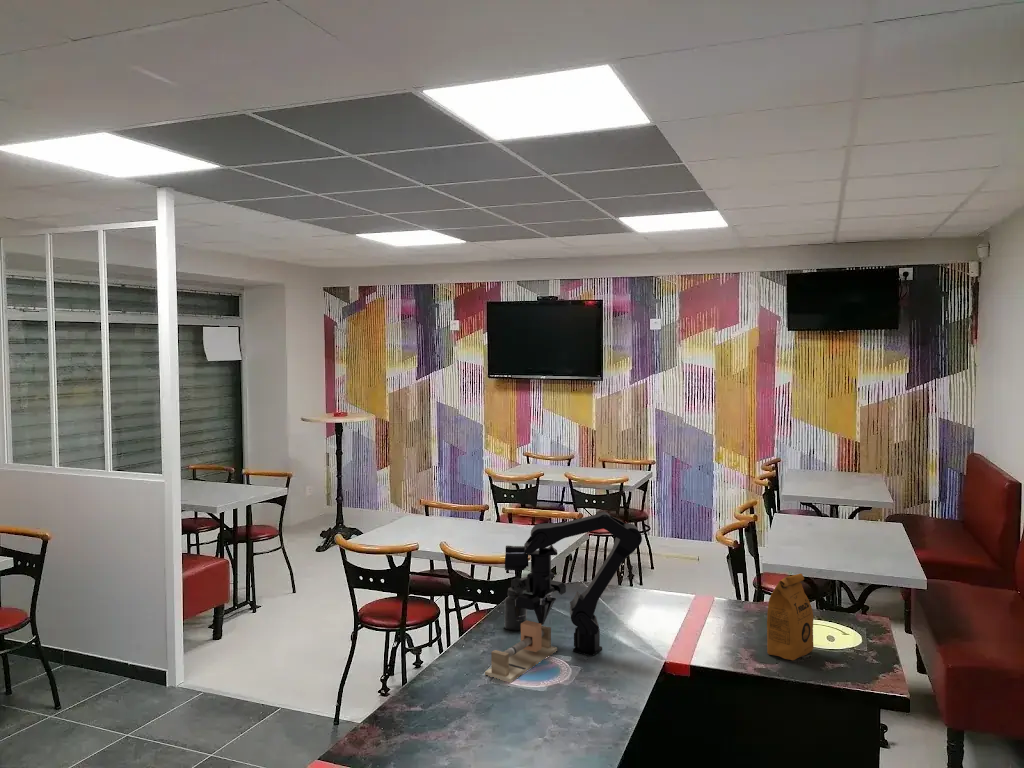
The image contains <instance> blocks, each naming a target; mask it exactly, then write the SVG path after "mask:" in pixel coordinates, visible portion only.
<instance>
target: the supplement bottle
mask: <svg viewBox="0 0 1024 768" xmlns="http://www.w3.org/2000/svg"><path fill="white" fill-rule="evenodd" d="M524 593H525V592H524V591H520V592H518V593H516V592H515V591H513V590H512V588H511V587H508V589H507V597H505V599H504V628H505V629H506V630H508V631H510V632H511V631H512V632H513V631H514V632H519V631H520V632H521V623H522V622H524V621H526V620H528V619H527V616H528V614H527V611H528V609H524V608H520V607H516V606H515V599H516V598H517V597H518V596H520V595H522V594H524Z"/></svg>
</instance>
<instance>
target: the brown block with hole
mask: <svg viewBox="0 0 1024 768" xmlns="http://www.w3.org/2000/svg"><path fill="white" fill-rule="evenodd" d="M527 637H532V644H530V645H528V646H527V647H525V648H524V649H526V650H530V651H534V652H537V651H538V650H540V649H542V634H541V623H539V622H538V621H537V622H535V621H532V620H528V619H527V620H526V621H524V622H522V623H521V630H520V641H522V640H524V639H525V638H527Z"/></svg>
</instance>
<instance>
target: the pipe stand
mask: <svg viewBox="0 0 1024 768" xmlns="http://www.w3.org/2000/svg"><path fill="white" fill-rule="evenodd" d="M541 634H542V649H540V650H538V651H537V652H534V651H530V650H526V649H524V648H525V647H527V646H528V645H530V644H532V637H527V638H525V639H524V640H522V641H521V640H520V641H519V642H517V643H515V644H514V645H512V646H510V647H508V648H507V649H506V650H504V651H501V650H496V649H494V650H492V651H491V652H490V654H491V655H490V656H491V661H490V662H491V665H490V668H488V669H487V670H485V671H484V676H485V675H488V676H487V677H489V676H490V678H492V677H494V678H493V679H496V678H497V679H496V680H499V679H500V681H504V682H506V681H508V683H510V682H511V683H512V682H513V680H514V681H515V680H516V678H517V677H518V678H519V676H520V675H521V676H523V675H524V674H525V672H526V671H527V670H528V671H530V670H531V669H533V668H534V667H536V666H537V665H538V663H539V662H540V663H541V661H542V660H543V659H545V658H546V657H548V656H549V657H551V656H553V653H554V652H555V653H557V652H558V647H556V646H552V627H549V626H546V625H541ZM556 651H557V652H556ZM555 653H554V654H555ZM550 655H551V656H550ZM549 657H548V658H549ZM546 659H547V658H546ZM546 659H545V660H546ZM543 661H544V660H543ZM543 661H542V662H543ZM540 663H539V664H540ZM536 664H537V665H536ZM535 665H536V666H535ZM533 666H534V667H533ZM532 667H533V668H532ZM530 668H531V669H530ZM529 669H530V670H529ZM528 671H527V672H528ZM527 672H526V673H527ZM523 673H524V674H523ZM522 674H523V675H522ZM521 676H520V677H521ZM518 678H517V679H518Z"/></svg>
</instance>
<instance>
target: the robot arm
mask: <svg viewBox="0 0 1024 768" xmlns="http://www.w3.org/2000/svg"><path fill="white" fill-rule="evenodd" d="M598 530H605V531H607V532H608V533H610V534H611V535H613V536H614V537H615V539H614V542H613V545H612V549H611V551H610V552H609V554H608V555H607V556H606V559H605V560H604V562H603V563H602V565H601V567H600V568H599V569H598V571H597V572H596V574H595V575H594V577H593V579H592V580H591V582H590V583H589V585H588V586H587V588H586V589H585V591H583V592H582V593H580V592H579V591H576V593H575V595H574V597H573V599H572V600H571V601H569V615H570V616H569V617H570V621H571V623H572V624H573V625H574V626H575V629H574V632H573V647H574V648H572V652H575V653H578V654H583V655H586V656H589V657H592V656H595V655H597V654H598V652H600V651H602V649H603V646H601V644H600V637H601V635H600V626H599V622H598V620H597V616H596V615H595V612H596V608H597V605H598V601H599V600H600V599H601V596H602V595H603V593H604V591H605V590H606V589H607V587H608V585H609V584H610V582H611V581H612V579H613V578H614V576H615V574H616V573H617V572H618V570H619V568H620V567H621V565H622V563H623V561H625V560H626V558H628V557H629V556H630V555H632V554H633V553H634V552H635V551H636V549H638V547H639V546H640V545H641V544H642V541H643V536H642V533H641V531H640V530H639V529H638V527H637V526H636V525H635V524H633V523H629V522H628V523H625V522H623V521H622V520H620V519H618V518H616V517H614V516H612V515H611V514H609V513H608V512H605V511H601V512H600V513H596V514H593V515H589V516H586V517H585V516H584V517H581V518H578V519H573V520H568V521H565V522H560V523H554V522H548V523H538V524H535V525H533V527H532V528H531V530H530V536H529V538H528V539H527V540H526V541H525V543H524V545H520V546H519V545H505V555H504V571H525V569H527V567H529V556H530V572H529V573H527V575H526V576H525V577H521V578H520V577H516V578H513V579H511V582H510V583H511V584H510V588H512V590H513V591H515V592H516V593H518V592H520V591H523V593H524V594H522V595H520V596H518V597H517V598H516V599H515V606H516V607H520V608H524V609H527V610H529V611H530V610H531V611H534V613H535V616H536V618H537V619H536V620H537V623H541V625H542V626H544V624H545V622H546V620H547V618H548V616H549V614H550V611H551V609H552V608H553V605H554V603H555V601H556V600H557V599H556V598H555V597H553V596H552V594H553V593H554V592H556V591H557V592H558V594H559V595H564V594H565V593H566V592H567V586H566V584H565V583H564V582H562V581H556V580H553V579H552V578H554V576H555V573H554V572H552V556H558V550H557V549H556V548H555V547H554V545H555V544H557V543H558V542H559V541H561V540H564V539H566V538H569V537H575V536H578V535H583V534H586V533H590V532H591V533H592V532H594V531H595V532H596V531H598ZM524 591H525V592H524ZM529 593H531V594H529Z"/></svg>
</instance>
